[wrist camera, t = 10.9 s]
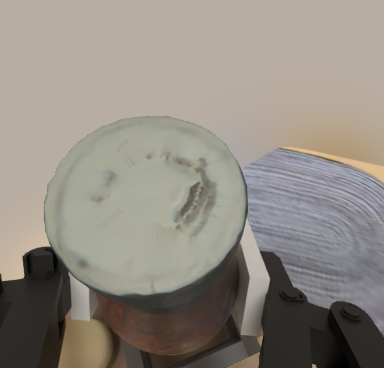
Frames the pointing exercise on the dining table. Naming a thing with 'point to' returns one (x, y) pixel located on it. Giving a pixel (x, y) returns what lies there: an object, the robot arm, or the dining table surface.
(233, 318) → the post socket
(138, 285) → the sauce bottle
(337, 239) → the dining table surface
